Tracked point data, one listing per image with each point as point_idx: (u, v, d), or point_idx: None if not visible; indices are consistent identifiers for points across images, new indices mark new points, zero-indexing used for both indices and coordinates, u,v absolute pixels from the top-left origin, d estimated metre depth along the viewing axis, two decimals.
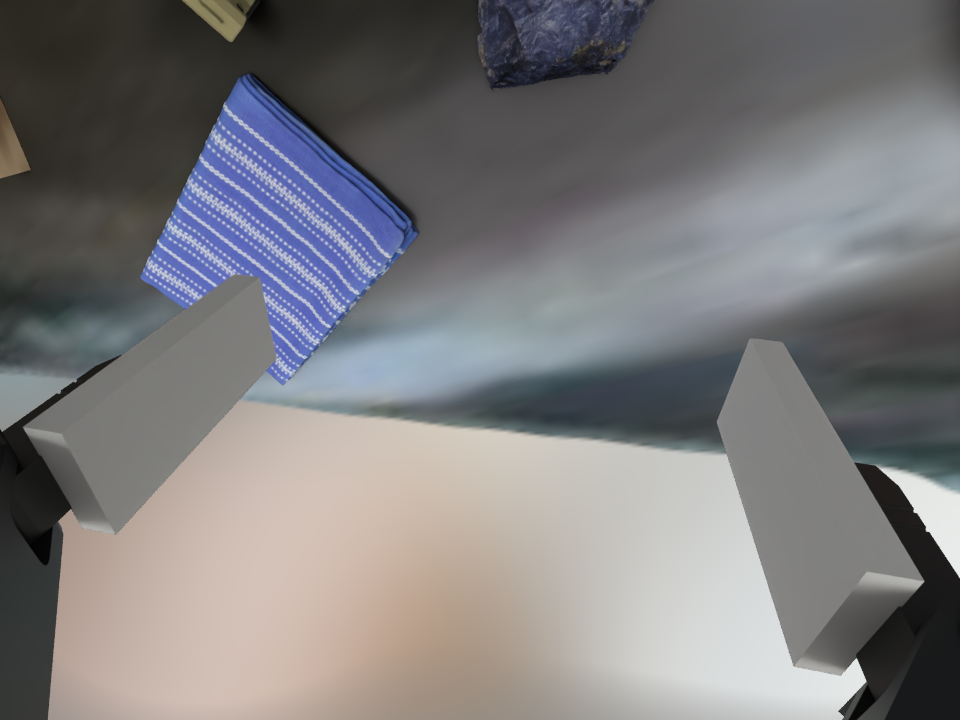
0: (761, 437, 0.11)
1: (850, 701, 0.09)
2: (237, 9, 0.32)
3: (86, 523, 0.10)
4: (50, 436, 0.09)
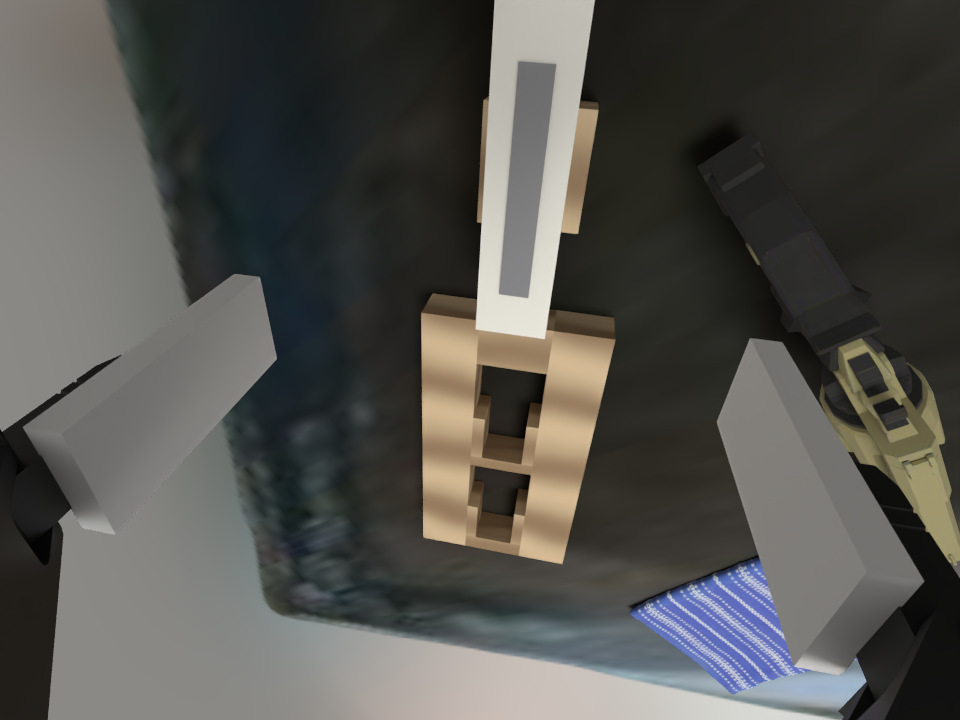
0: (761, 437, 0.11)
1: (850, 700, 0.09)
2: None
3: (86, 523, 0.10)
4: (50, 436, 0.09)
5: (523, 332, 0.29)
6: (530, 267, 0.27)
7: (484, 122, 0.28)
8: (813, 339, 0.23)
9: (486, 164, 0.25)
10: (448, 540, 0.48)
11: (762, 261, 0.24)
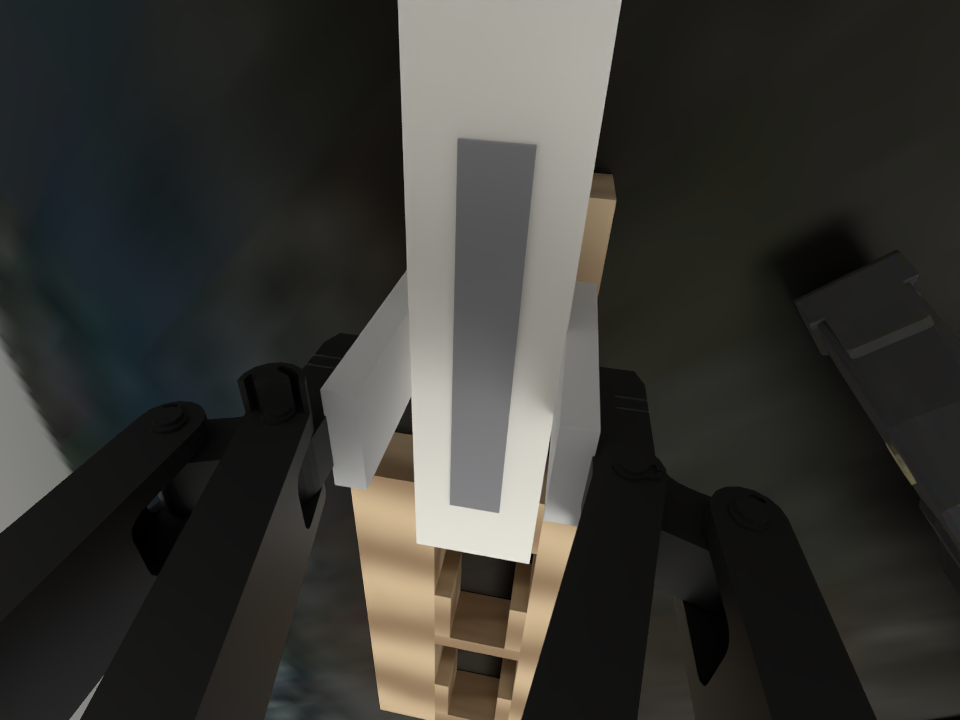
0: None
1: None
2: None
3: (341, 479, 0.12)
4: (343, 398, 0.10)
5: (494, 553, 0.18)
6: (500, 472, 0.16)
7: None
8: None
9: (411, 317, 0.13)
10: (413, 715, 0.37)
11: (947, 515, 0.13)
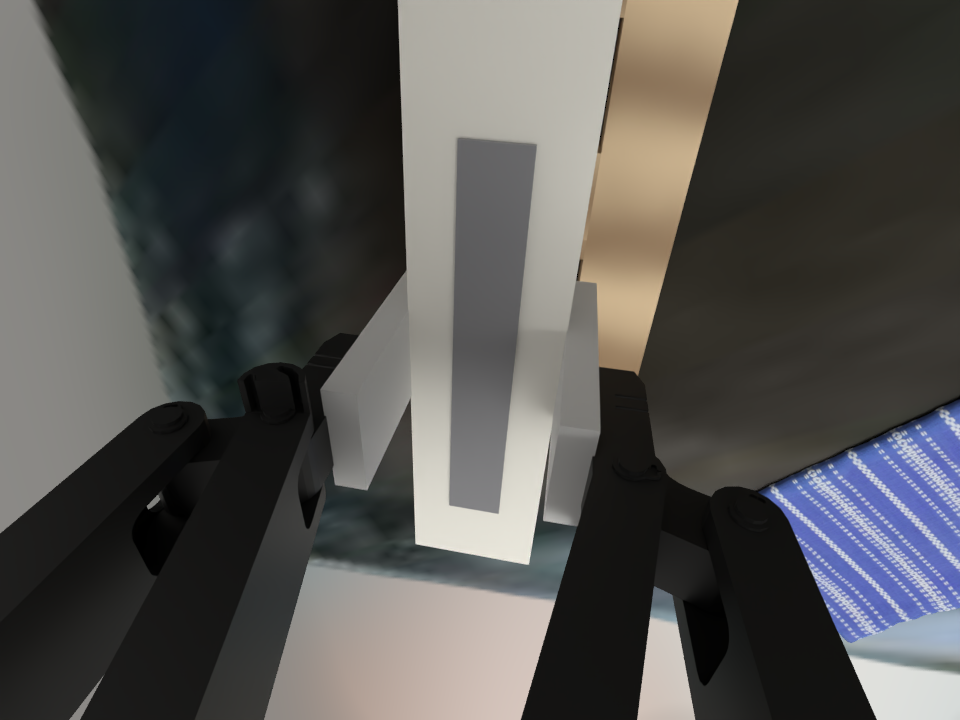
0: None
1: None
2: None
3: (341, 479, 0.12)
4: (343, 398, 0.10)
5: (493, 553, 0.18)
6: (500, 473, 0.15)
7: None
8: None
9: (410, 317, 0.13)
10: None
11: None
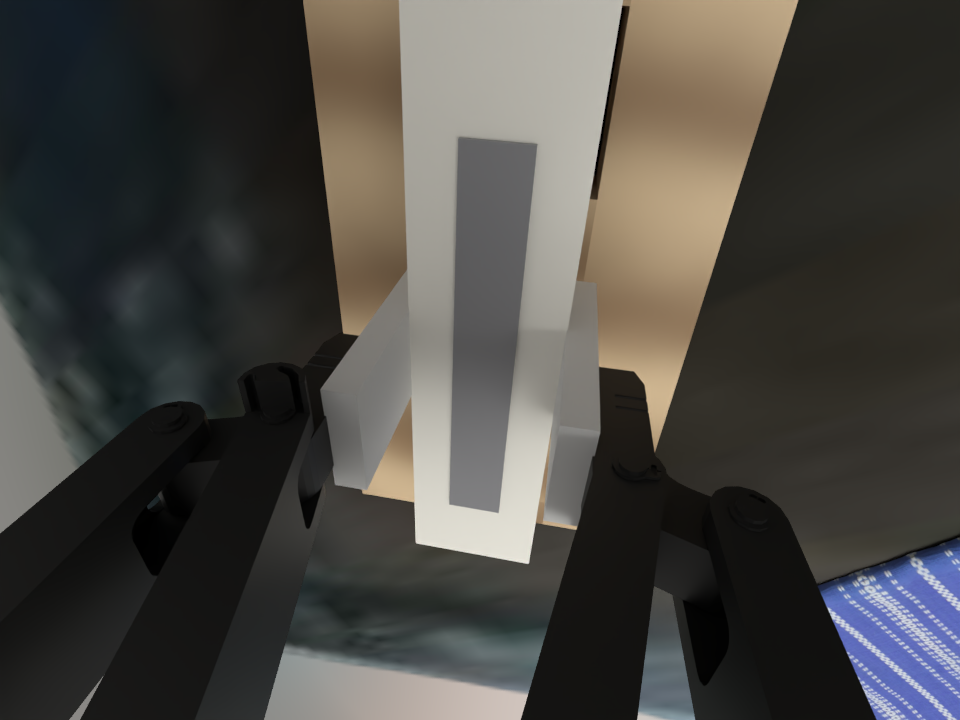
0: None
1: None
2: None
3: (342, 479, 0.12)
4: (343, 397, 0.10)
5: (493, 552, 0.18)
6: (500, 472, 0.15)
7: None
8: None
9: (411, 316, 0.13)
10: (409, 497, 0.25)
11: None
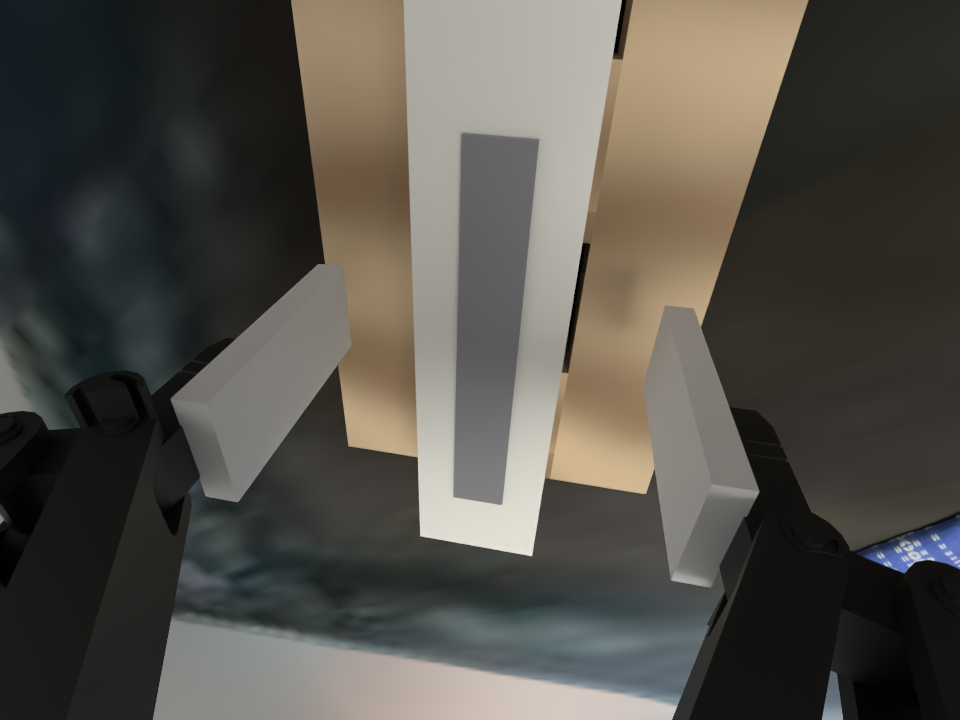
0: (665, 391, 0.13)
1: (713, 612, 0.10)
2: None
3: (211, 491, 0.11)
4: (195, 407, 0.10)
5: (497, 545, 0.18)
6: (503, 464, 0.16)
7: None
8: None
9: (415, 310, 0.13)
10: (400, 450, 0.23)
11: None
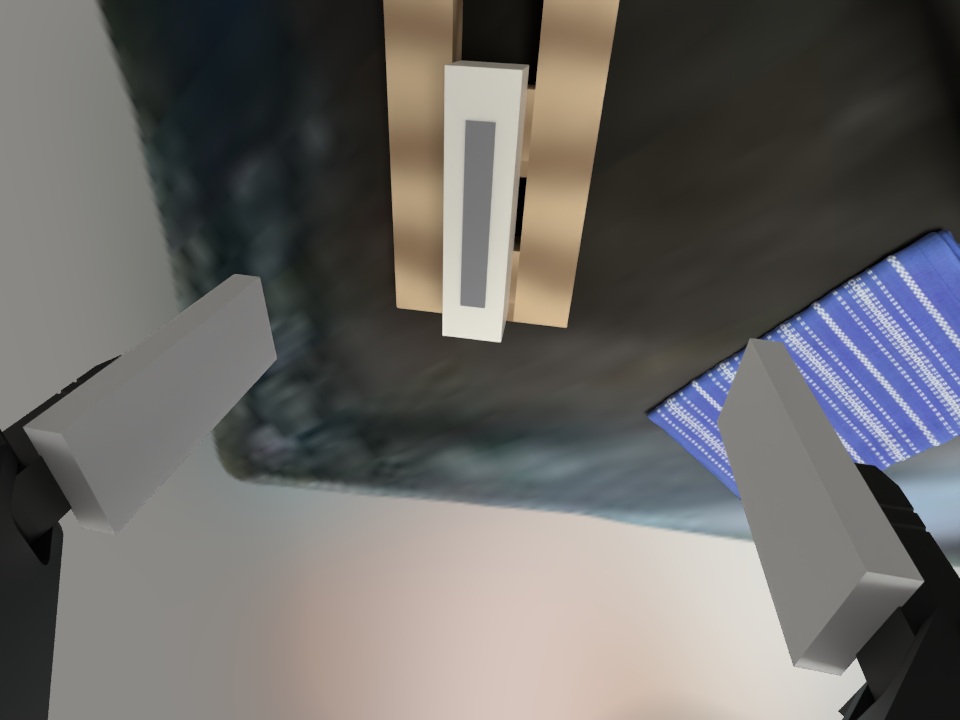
0: (761, 437, 0.11)
1: (850, 700, 0.09)
2: None
3: (86, 523, 0.10)
4: (50, 436, 0.09)
5: (482, 337, 0.35)
6: (485, 282, 0.32)
7: None
8: None
9: (444, 200, 0.30)
10: (427, 308, 0.39)
11: None
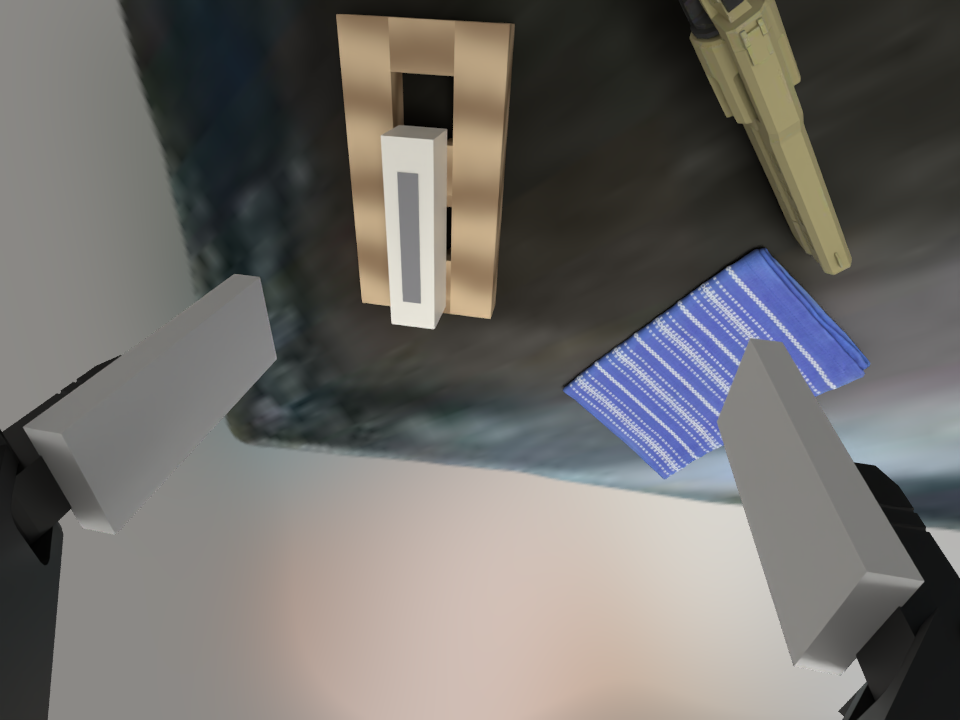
0: (761, 437, 0.11)
1: (850, 700, 0.09)
2: (849, 253, 0.40)
3: (86, 523, 0.10)
4: (50, 436, 0.09)
5: (421, 325, 0.47)
6: (419, 285, 0.44)
7: None
8: None
9: (386, 225, 0.42)
10: (385, 303, 0.51)
11: None
